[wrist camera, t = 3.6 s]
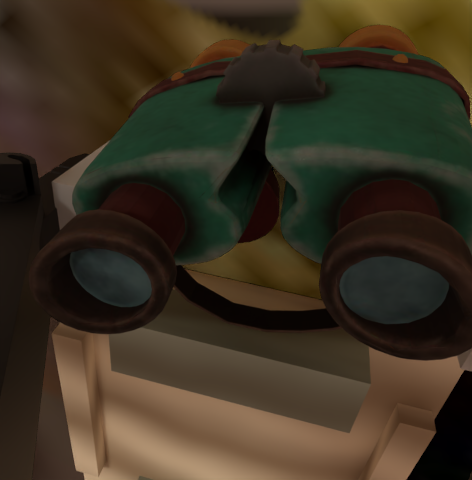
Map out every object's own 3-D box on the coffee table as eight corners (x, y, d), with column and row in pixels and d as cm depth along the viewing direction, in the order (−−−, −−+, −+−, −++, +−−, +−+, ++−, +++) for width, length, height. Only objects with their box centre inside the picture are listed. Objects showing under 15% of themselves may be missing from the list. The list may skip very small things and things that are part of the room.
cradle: (67, 242, 20) (12, 295, 17) (462, 332, 18) (488, 413, 15) (95, 461, 31) (65, 521, 27) (348, 535, 28) (348, 609, 25)
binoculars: (111, 497, 12) (-119, 162, 6) (210, 252, 20) (158, 9, 14) (480, 566, 9) (733, 135, 3) (419, 258, 17) (464, -27, 12)
